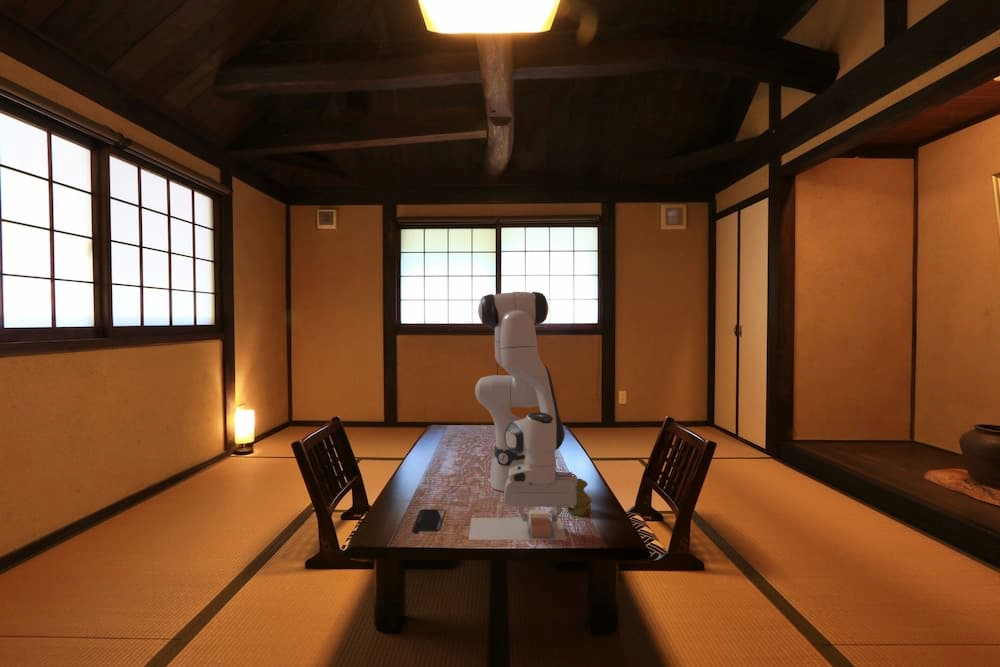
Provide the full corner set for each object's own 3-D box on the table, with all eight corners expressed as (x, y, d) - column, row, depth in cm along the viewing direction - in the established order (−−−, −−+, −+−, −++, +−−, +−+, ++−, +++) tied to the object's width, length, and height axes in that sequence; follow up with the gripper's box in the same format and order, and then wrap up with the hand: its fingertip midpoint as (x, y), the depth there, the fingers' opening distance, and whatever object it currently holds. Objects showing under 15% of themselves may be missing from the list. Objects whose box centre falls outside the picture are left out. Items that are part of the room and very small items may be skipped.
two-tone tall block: (550, 536, 131) (550, 525, 131) (532, 536, 131) (532, 525, 131) (546, 519, 142) (546, 509, 142) (529, 519, 142) (529, 509, 142)
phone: (446, 509, 150) (439, 530, 135) (446, 513, 150) (439, 534, 135) (420, 509, 150) (410, 530, 135) (420, 512, 150) (410, 534, 135)
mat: (471, 520, 144) (471, 517, 144) (560, 520, 144) (560, 517, 144) (468, 541, 130) (468, 539, 130) (566, 541, 130) (566, 539, 130)
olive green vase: (578, 518, 145) (578, 485, 145) (562, 510, 152) (562, 478, 151) (596, 513, 149) (596, 480, 149) (580, 505, 155) (580, 474, 155)
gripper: (575, 468, 140) (575, 516, 140) (503, 468, 139) (503, 516, 140) (579, 475, 133) (578, 526, 134) (504, 475, 133) (503, 526, 134)
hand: (539, 521), depth 137 cm, fingers open, 7 cm apart
